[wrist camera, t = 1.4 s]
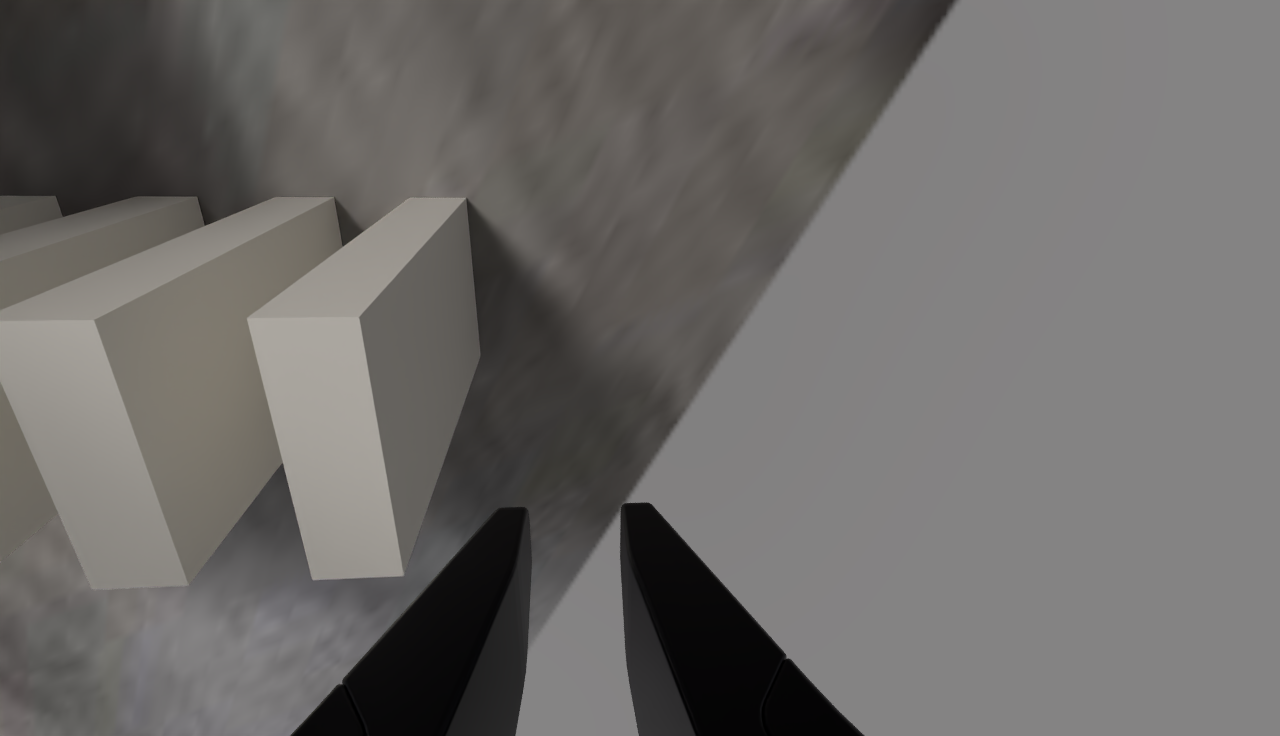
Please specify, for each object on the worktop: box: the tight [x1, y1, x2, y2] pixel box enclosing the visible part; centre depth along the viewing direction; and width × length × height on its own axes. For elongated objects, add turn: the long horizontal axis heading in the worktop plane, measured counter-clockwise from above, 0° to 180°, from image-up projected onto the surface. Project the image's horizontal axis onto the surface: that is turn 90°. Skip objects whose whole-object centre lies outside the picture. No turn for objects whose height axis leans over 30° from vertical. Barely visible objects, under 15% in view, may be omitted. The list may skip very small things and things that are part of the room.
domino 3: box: [247, 198, 481, 580], centre depth 15 cm, size 2×5×10 cm, turn 179°
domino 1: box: [0, 196, 205, 562], centre depth 14 cm, size 2×5×10 cm, turn 179°
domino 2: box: [0, 197, 343, 590], centre depth 15 cm, size 2×5×10 cm, turn 179°
